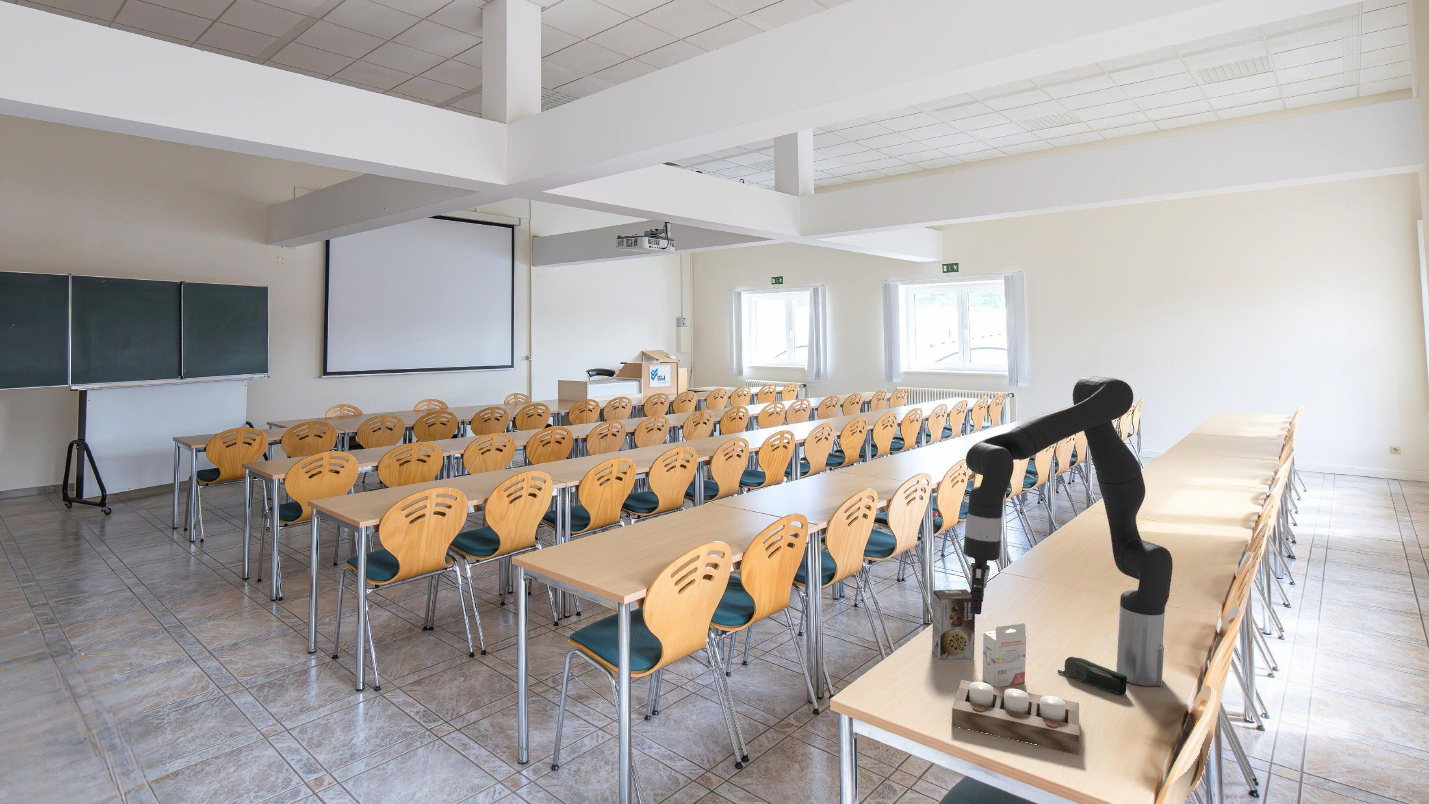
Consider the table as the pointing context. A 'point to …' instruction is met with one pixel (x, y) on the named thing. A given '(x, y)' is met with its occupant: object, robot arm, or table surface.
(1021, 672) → the ink cartridge box
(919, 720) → the table surface
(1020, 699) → the button middle
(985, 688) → the button outer
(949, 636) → the coffee box
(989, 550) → the robot arm
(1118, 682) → the dark green stapler
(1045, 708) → the button inner
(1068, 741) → the button board
